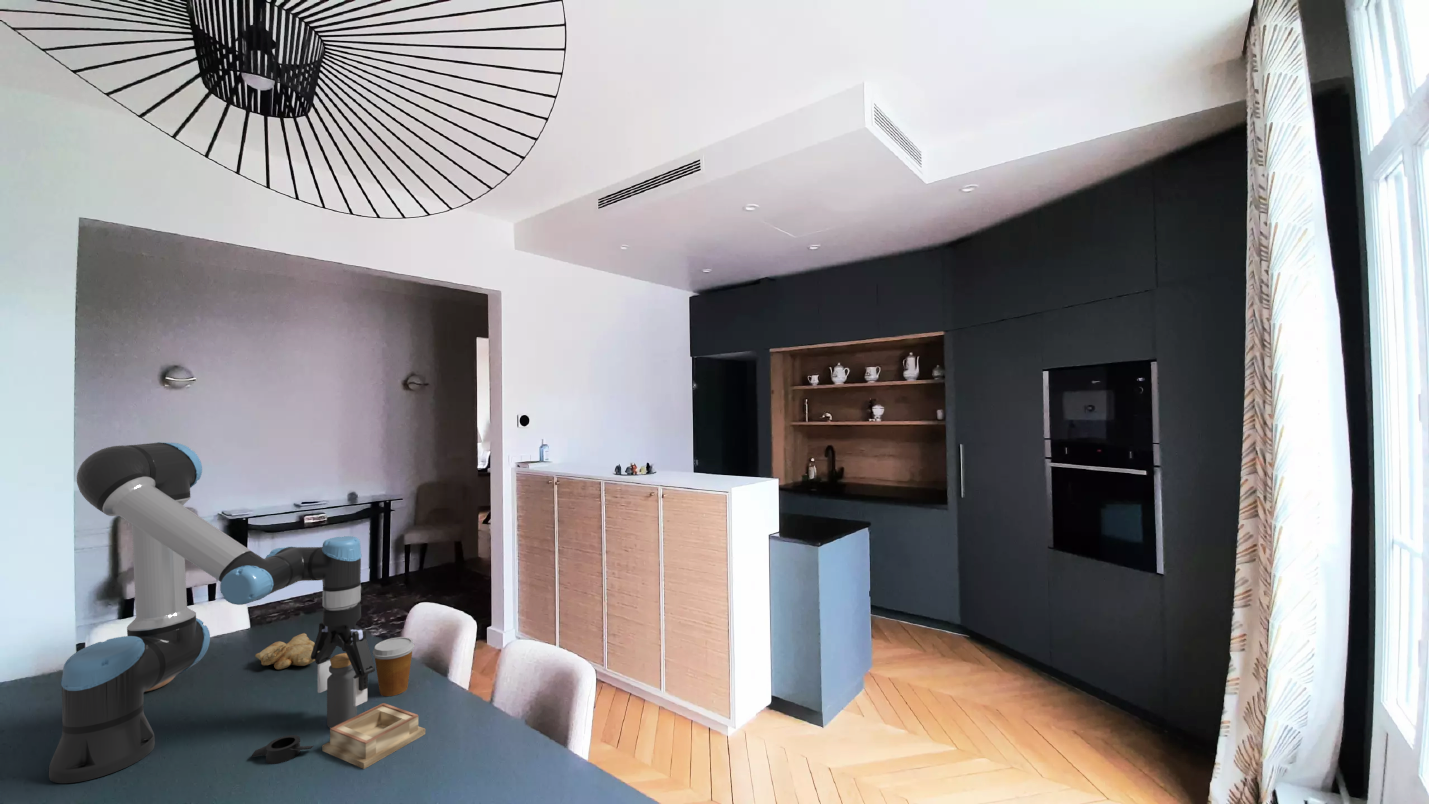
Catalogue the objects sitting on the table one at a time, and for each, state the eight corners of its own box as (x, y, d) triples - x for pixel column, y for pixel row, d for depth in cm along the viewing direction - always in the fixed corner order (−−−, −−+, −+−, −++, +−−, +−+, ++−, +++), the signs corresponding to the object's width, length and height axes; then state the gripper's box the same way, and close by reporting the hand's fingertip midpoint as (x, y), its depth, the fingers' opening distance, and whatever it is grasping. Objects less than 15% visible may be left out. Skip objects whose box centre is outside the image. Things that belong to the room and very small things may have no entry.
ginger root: (258, 653, 171) (266, 625, 171) (321, 656, 177) (329, 630, 178) (241, 678, 157) (250, 648, 157) (310, 680, 163) (319, 652, 164)
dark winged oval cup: (287, 741, 129) (287, 728, 129) (317, 752, 125) (317, 738, 125) (247, 761, 122) (247, 747, 122) (278, 773, 118) (278, 758, 118)
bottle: (342, 729, 133) (342, 663, 133) (320, 726, 134) (320, 661, 134) (362, 716, 139) (362, 652, 139) (341, 713, 140) (341, 650, 140)
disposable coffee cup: (382, 703, 145) (382, 654, 145) (365, 692, 150) (365, 645, 150) (421, 688, 152) (421, 642, 152) (404, 678, 158) (404, 633, 158)
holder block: (322, 750, 125) (322, 729, 125) (384, 719, 137) (384, 699, 137) (364, 769, 119) (364, 746, 119) (425, 734, 131) (425, 713, 131)
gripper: (392, 608, 134) (392, 701, 134) (326, 592, 146) (326, 678, 145) (359, 619, 128) (359, 716, 128) (293, 601, 139) (293, 692, 139)
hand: (342, 696), depth 137 cm, fingers open, 13 cm apart
